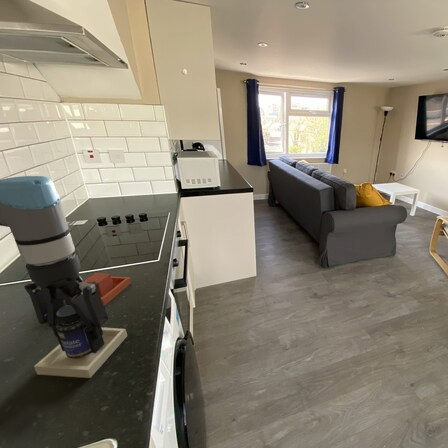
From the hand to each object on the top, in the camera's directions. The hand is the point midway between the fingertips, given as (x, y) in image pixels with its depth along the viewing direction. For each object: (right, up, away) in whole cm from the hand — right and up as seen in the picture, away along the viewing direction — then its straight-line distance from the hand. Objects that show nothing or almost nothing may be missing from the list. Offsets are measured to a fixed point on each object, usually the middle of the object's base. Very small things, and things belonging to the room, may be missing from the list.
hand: (84, 347), depth 59 cm
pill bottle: (0, -1, 0) cm, 1 cm away
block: (-13, +7, +22) cm, 26 cm away
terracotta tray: (-13, +7, +22) cm, 26 cm away
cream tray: (0, -2, +1) cm, 2 cm away
